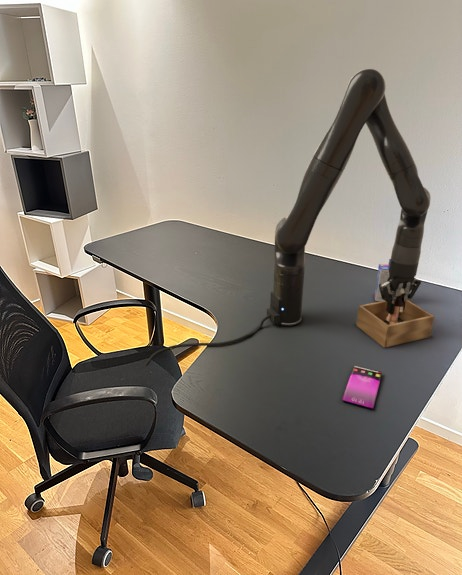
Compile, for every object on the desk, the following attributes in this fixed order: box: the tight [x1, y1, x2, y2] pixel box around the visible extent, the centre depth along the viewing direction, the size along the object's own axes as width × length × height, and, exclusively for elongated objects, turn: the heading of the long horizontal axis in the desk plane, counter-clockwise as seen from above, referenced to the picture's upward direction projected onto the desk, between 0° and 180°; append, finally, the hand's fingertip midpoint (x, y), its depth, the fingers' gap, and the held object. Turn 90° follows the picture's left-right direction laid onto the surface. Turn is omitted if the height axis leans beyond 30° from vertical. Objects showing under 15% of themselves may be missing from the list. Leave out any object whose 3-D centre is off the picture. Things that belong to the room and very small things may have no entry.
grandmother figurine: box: [386, 288, 405, 325], centre depth 130 cm, size 8×4×13 cm, turn 14°
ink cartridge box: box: [374, 258, 391, 302], centre depth 151 cm, size 10×6×14 cm, turn 79°
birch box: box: [355, 299, 435, 348], centre depth 133 cm, size 17×14×7 cm
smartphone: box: [341, 365, 383, 410], centre depth 109 cm, size 7×15×1 cm, turn 155°
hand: (394, 312), depth 131 cm, fingers closed on grandmother figurine, 3 cm apart
